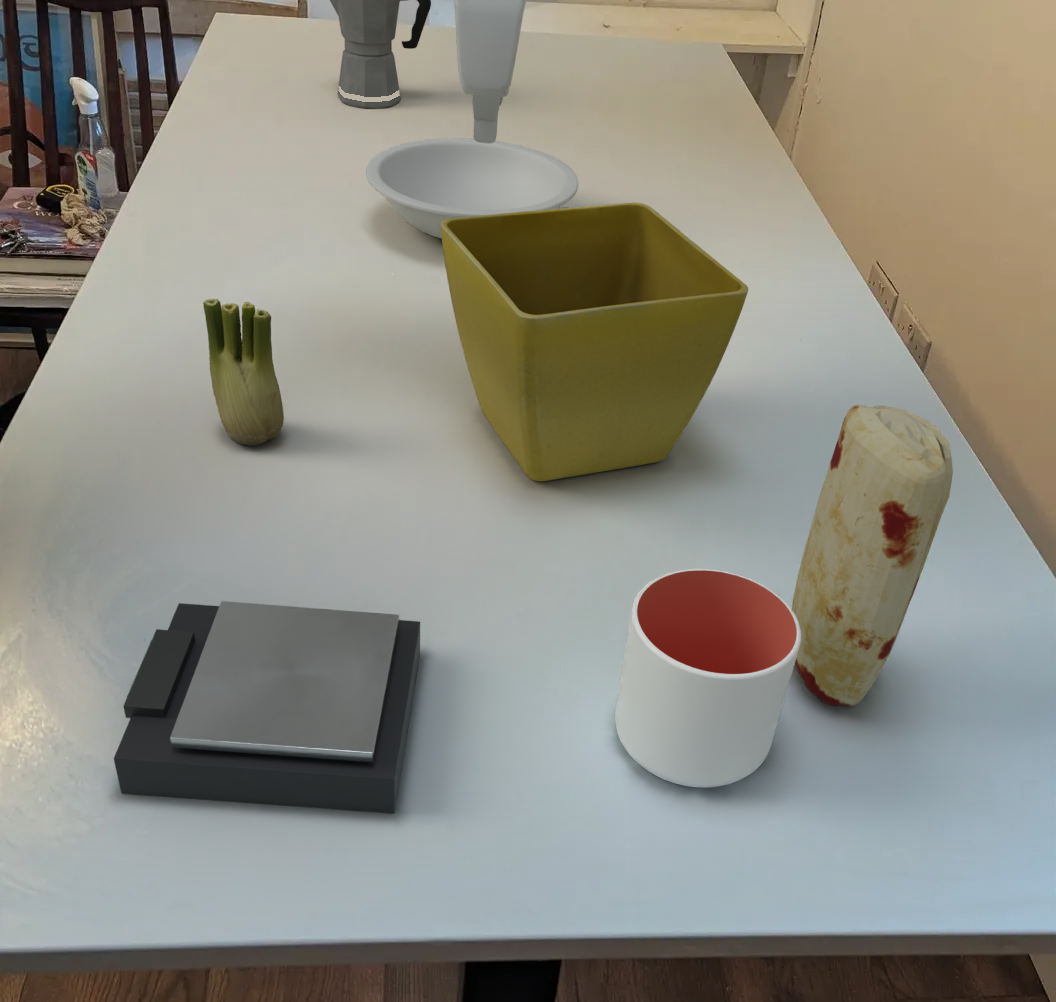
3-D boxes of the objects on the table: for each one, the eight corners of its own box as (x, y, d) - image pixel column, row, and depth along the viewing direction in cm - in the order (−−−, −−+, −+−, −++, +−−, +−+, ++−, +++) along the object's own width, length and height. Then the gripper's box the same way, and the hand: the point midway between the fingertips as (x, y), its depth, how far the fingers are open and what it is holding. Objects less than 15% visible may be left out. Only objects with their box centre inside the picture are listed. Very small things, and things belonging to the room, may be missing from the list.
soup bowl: (408, 284, 125) (408, 223, 121) (340, 201, 141) (338, 145, 137) (608, 260, 133) (615, 202, 129) (522, 184, 150) (526, 131, 146)
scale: (112, 793, 69) (102, 749, 67) (176, 636, 80) (169, 594, 77) (394, 813, 69) (394, 771, 67) (420, 654, 80) (420, 613, 78)
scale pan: (170, 747, 68) (169, 738, 67) (222, 609, 77) (221, 600, 77) (373, 763, 68) (373, 753, 67) (399, 623, 77) (399, 614, 77)
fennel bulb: (208, 429, 100) (193, 297, 93) (258, 412, 103) (247, 282, 95) (245, 459, 97) (232, 325, 89) (296, 440, 100) (287, 309, 92)
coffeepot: (318, 105, 169) (312, -35, 157) (329, 86, 176) (324, -50, 165) (426, 114, 169) (427, -25, 157) (432, 94, 176) (434, -40, 165)
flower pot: (432, 396, 107) (436, 216, 96) (621, 371, 113) (644, 198, 103) (508, 513, 94) (522, 318, 83) (717, 476, 100) (755, 291, 89)
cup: (784, 796, 72) (822, 677, 66) (624, 799, 71) (646, 678, 65) (748, 684, 80) (778, 567, 74) (602, 684, 79) (620, 566, 73)
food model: (756, 634, 84) (819, 385, 72) (842, 625, 86) (918, 380, 73) (810, 731, 77) (891, 474, 64) (903, 720, 78) (1000, 466, 66)
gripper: (466, -96, 97) (460, 81, 105) (444, -45, 81) (439, 159, 90) (543, -89, 97) (530, 87, 106) (536, -36, 81) (522, 166, 90)
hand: (488, 121), depth 97 cm, fingers open, 8 cm apart
